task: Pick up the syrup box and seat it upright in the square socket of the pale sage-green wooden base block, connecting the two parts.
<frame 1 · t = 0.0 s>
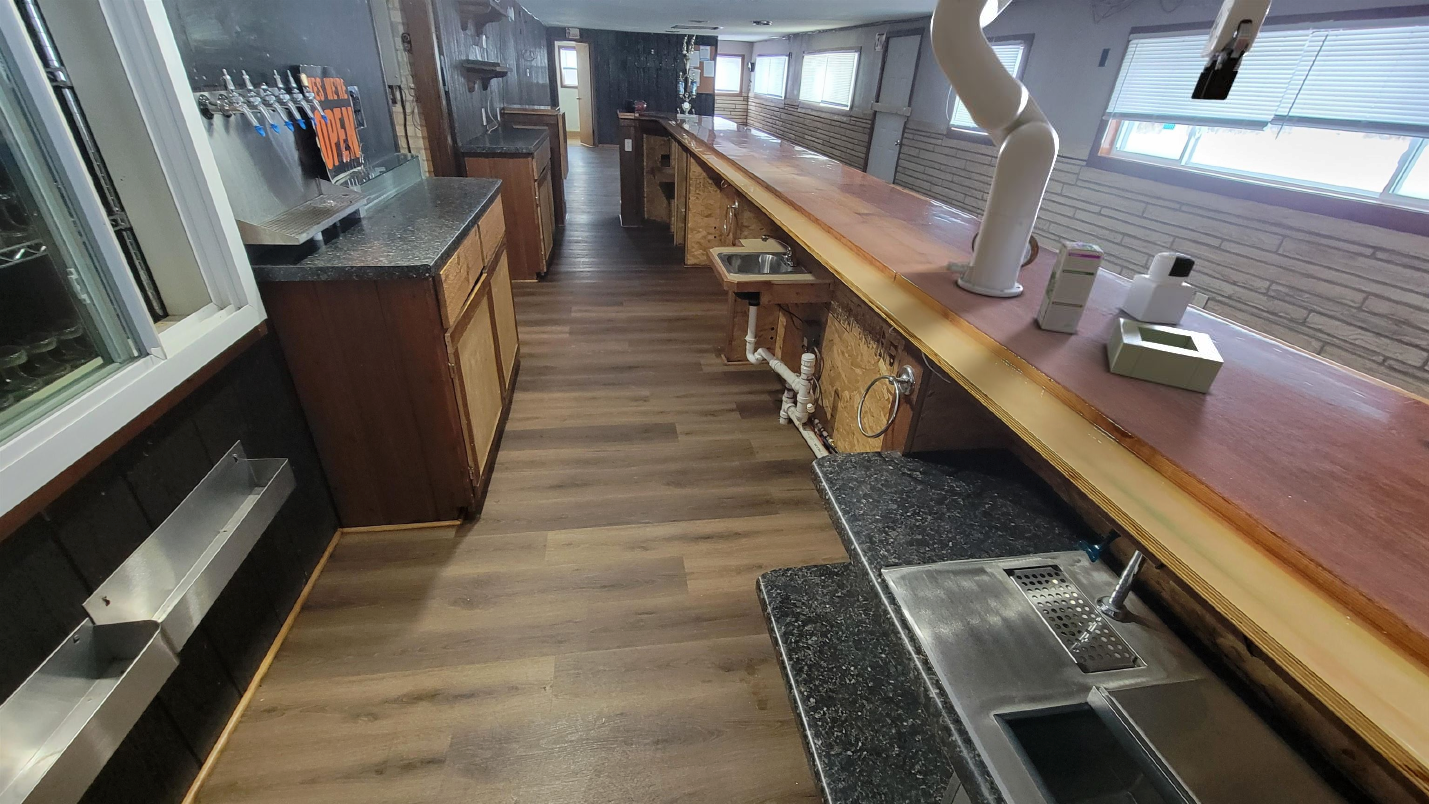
hand: (1207, 99, 92), 37 cm above the counter, tool pointing down, fingers open, 9 cm apart
medicine bottle: (1148, 317, 109), on the counter
syrup box: (1054, 327, 102), on the counter
tin: (998, 265, 137), on the counter
socket block: (1152, 367, 88), on the counter
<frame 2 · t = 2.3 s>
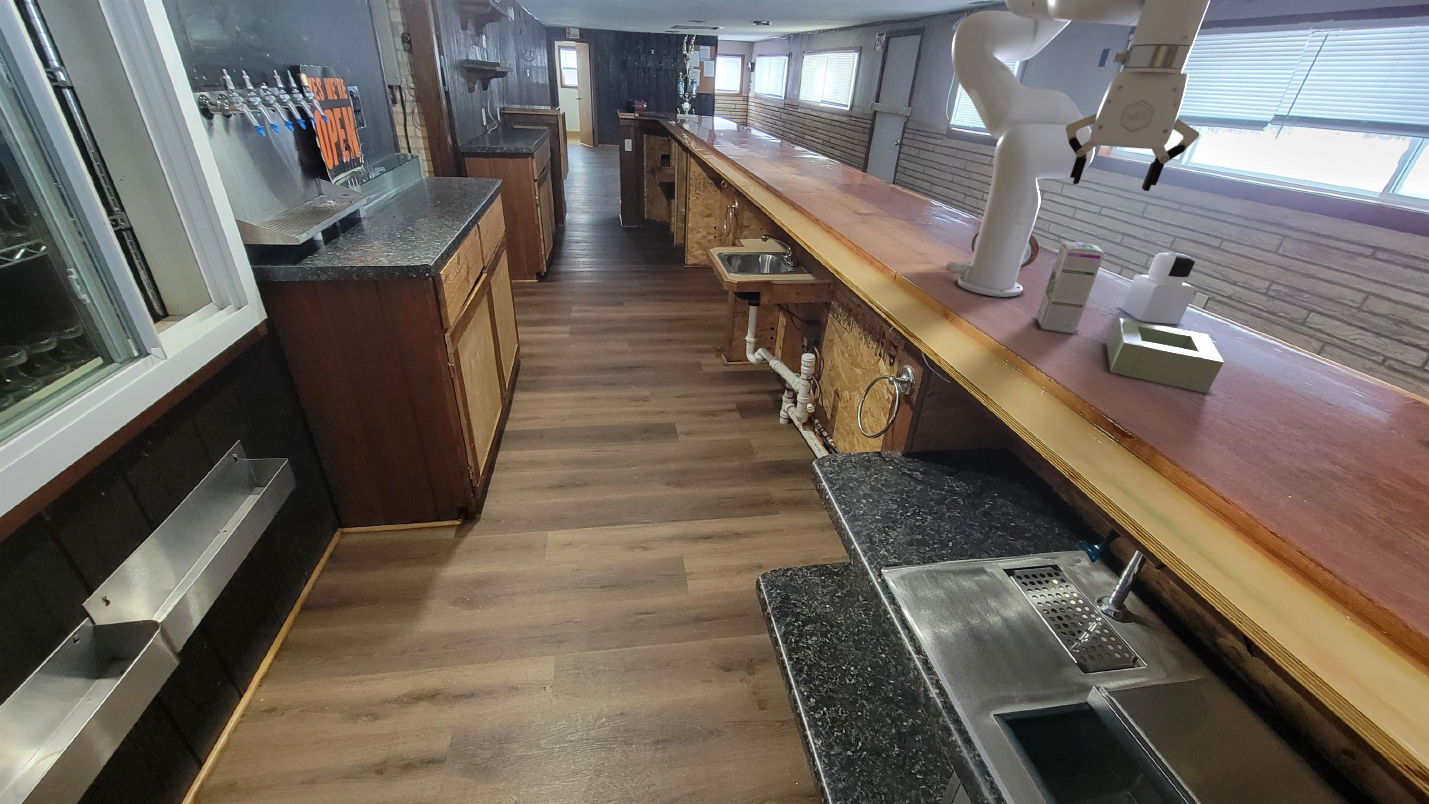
hand: (1109, 186, 90), 24 cm above the counter, tool pointing down, fingers open, 9 cm apart
nothing on the counter moved.
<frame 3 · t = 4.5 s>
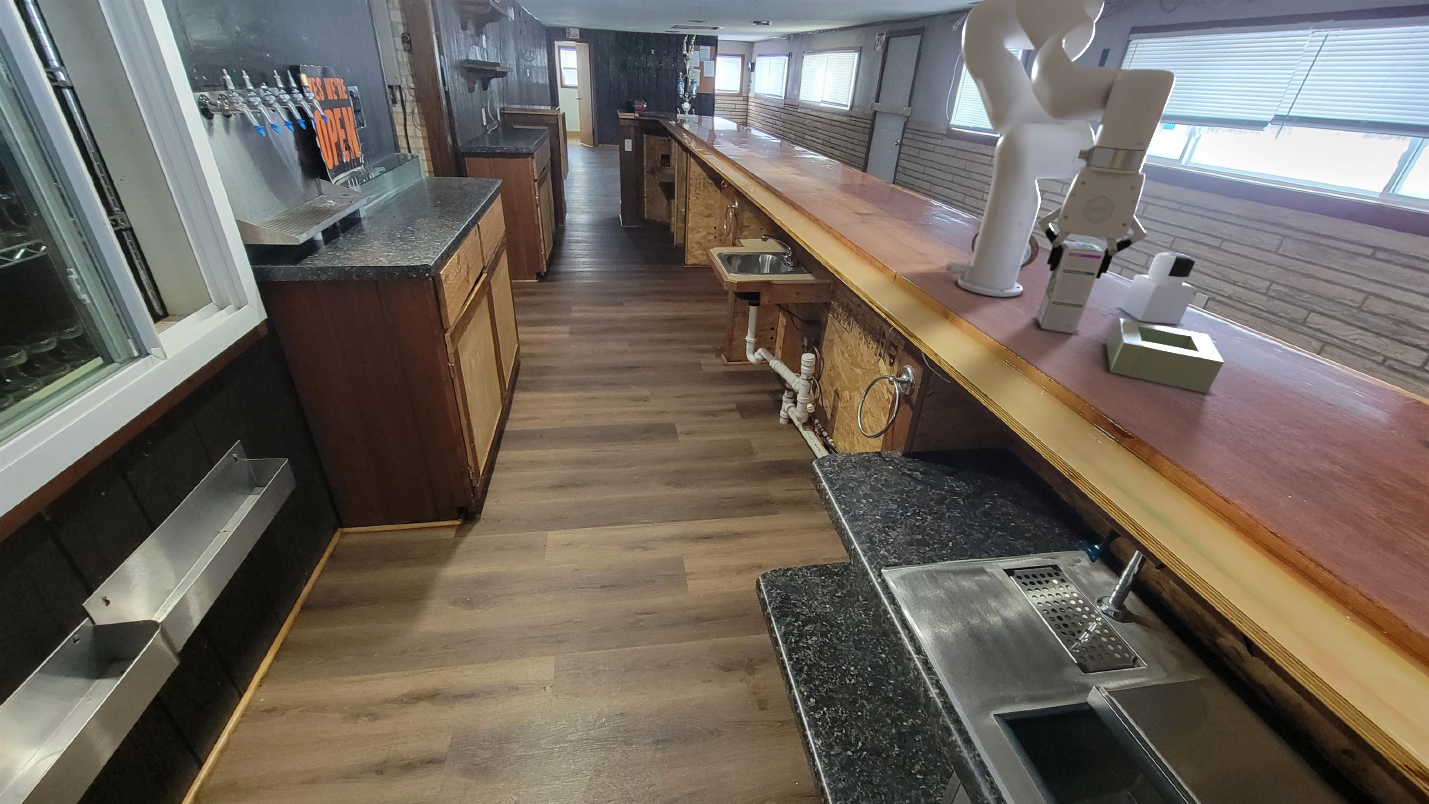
hand: (1074, 272, 97), 10 cm above the counter, tool pointing down, fingers closed on syrup box, 6 cm apart
syrup box: (1054, 327, 102), on the counter, touching gripper
everything else where it was.
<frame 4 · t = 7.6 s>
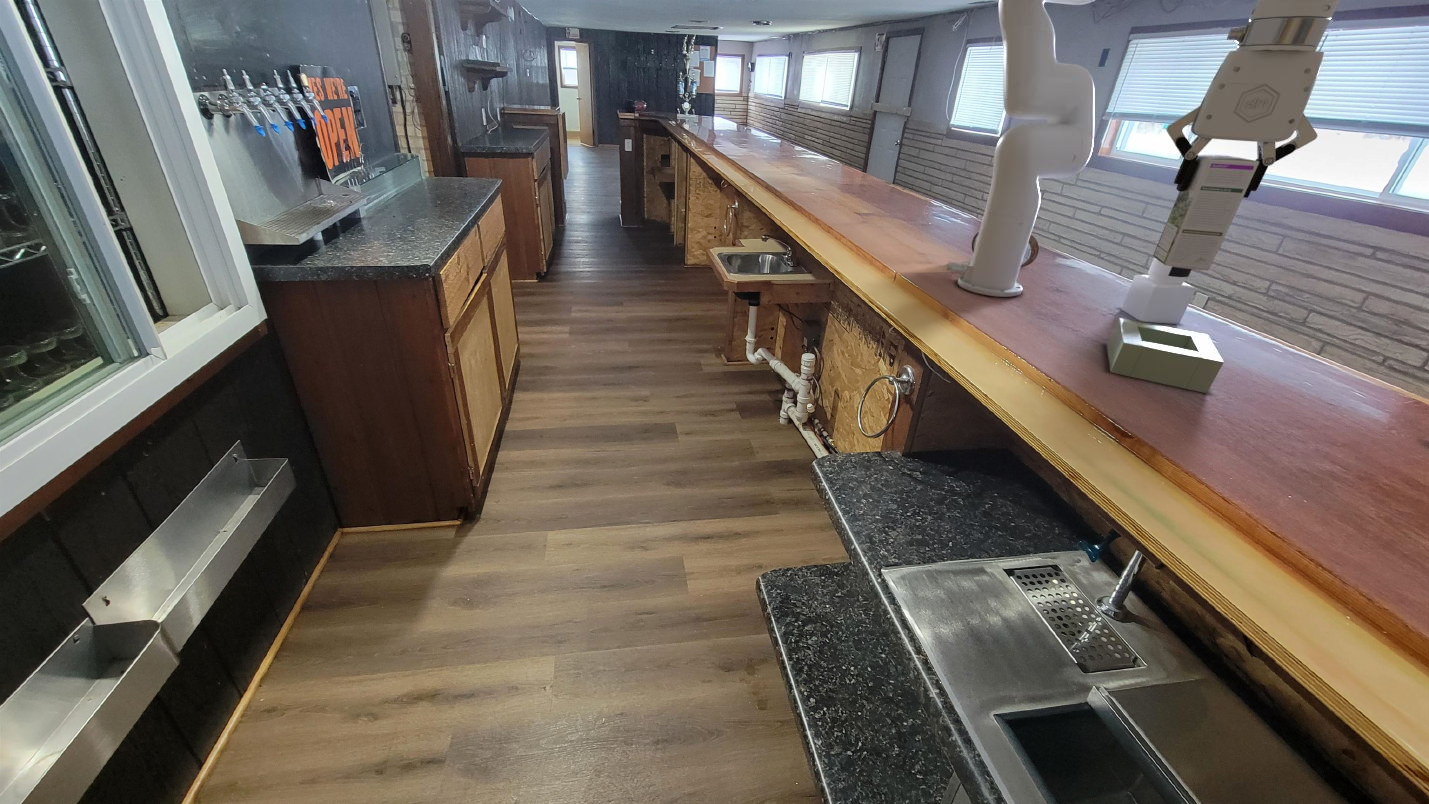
hand: (1211, 192, 77), 26 cm above the counter, tool pointing down, fingers closed on syrup box, 6 cm apart
syrup box: (1178, 265, 83), point 15 cm above the counter, touching gripper
everything else where it was.
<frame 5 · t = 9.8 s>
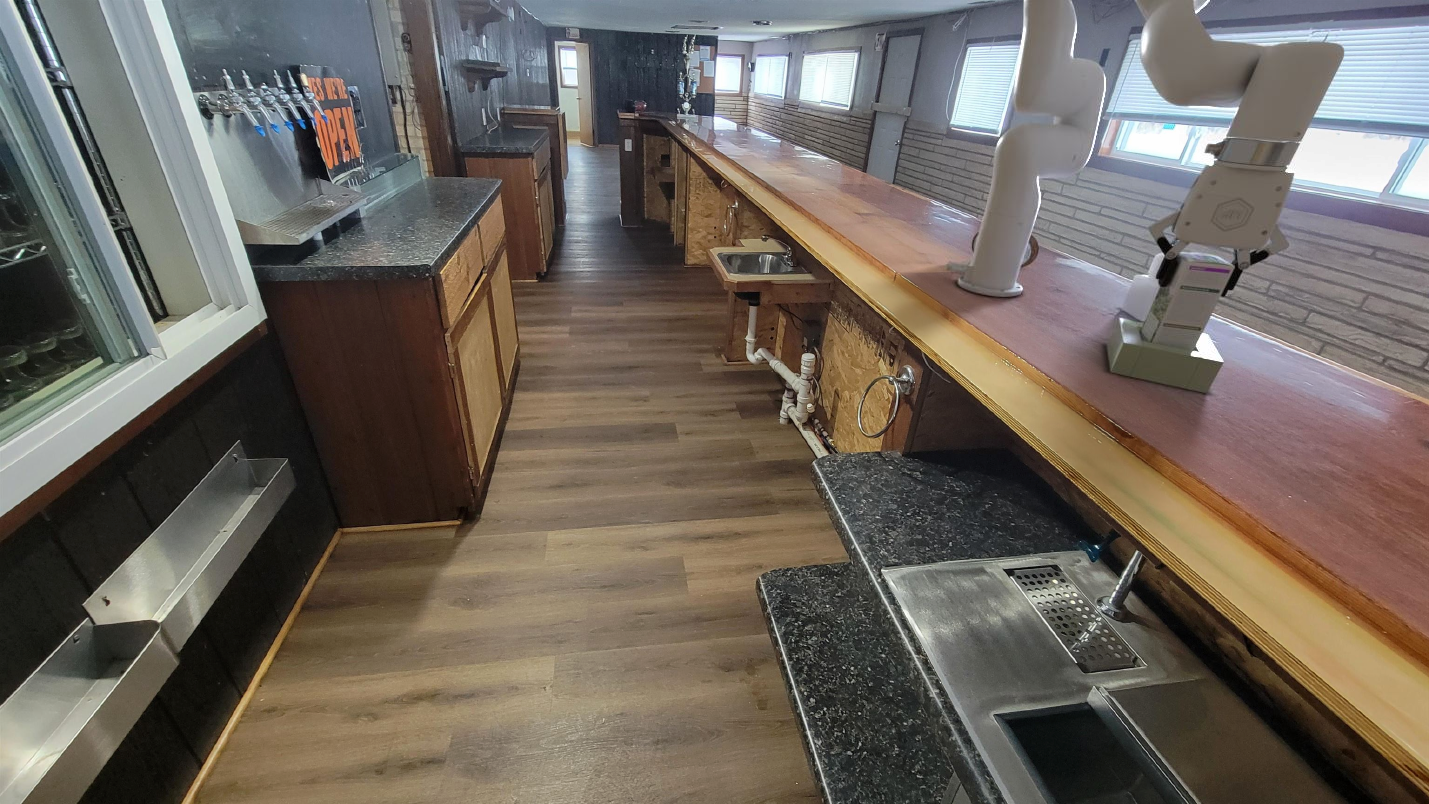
hand: (1190, 288, 82), 13 cm above the counter, tool pointing down, fingers closed on syrup box, 6 cm apart
syrup box: (1160, 352, 87), point 3 cm above the counter, touching gripper
everything else where it was.
when the fingers open (10 cm above the counter, at t = 11.2 s): syrup box stays where it is, resting in socket block.
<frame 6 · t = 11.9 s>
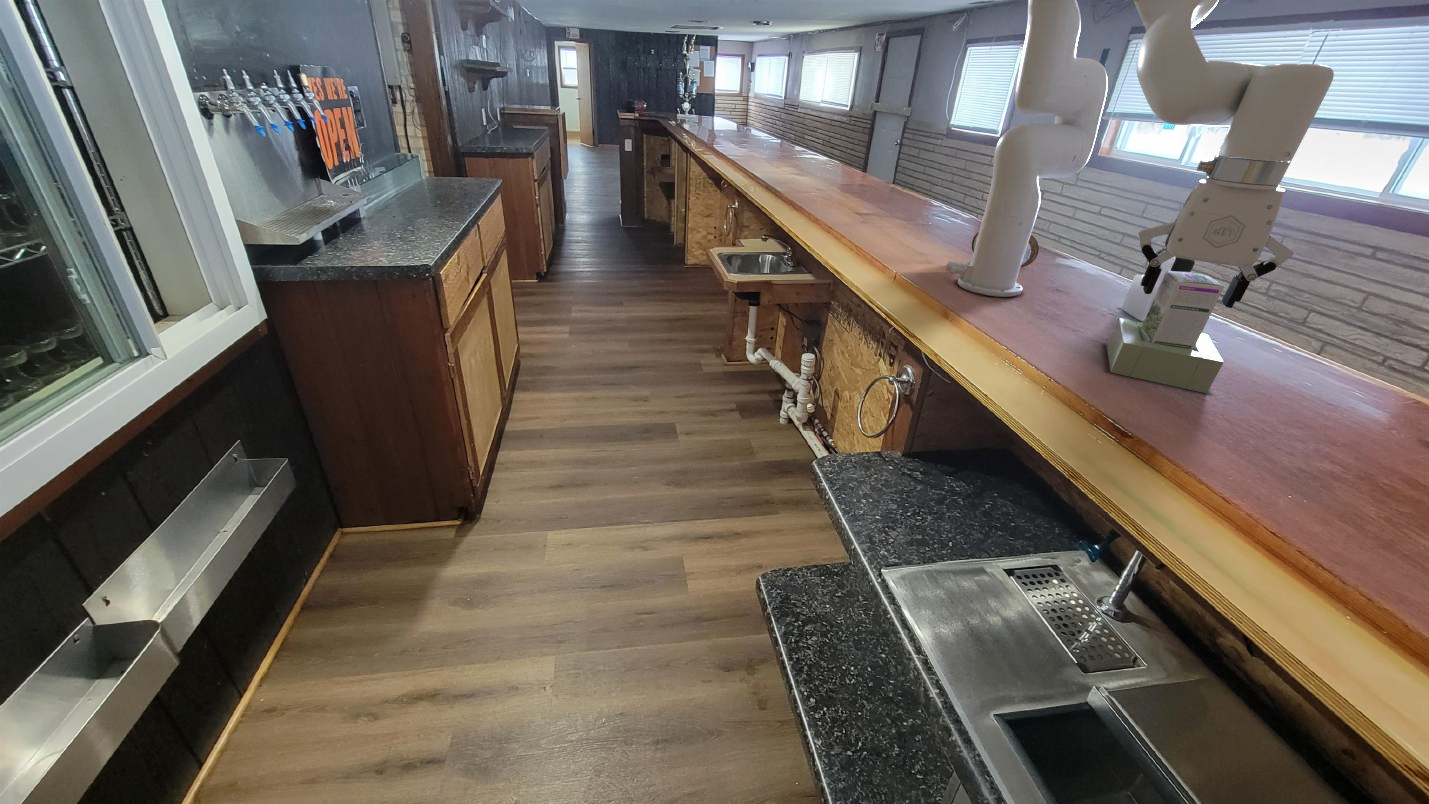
hand: (1185, 298, 82), 11 cm above the counter, tool pointing down, fingers open, 9 cm apart
syrup box: (1151, 368, 88), resting in socket block
everything else where it was.
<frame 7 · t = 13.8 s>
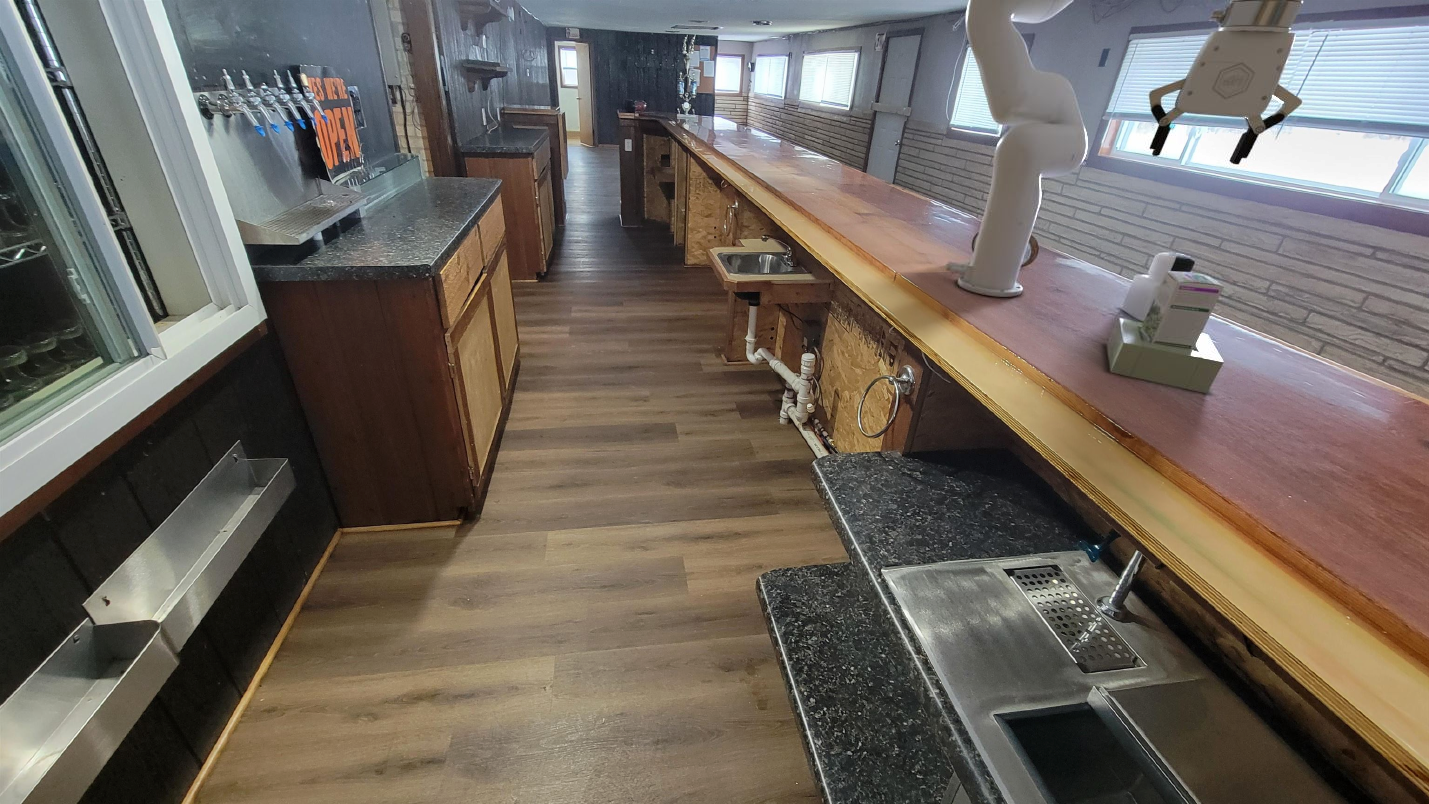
hand: (1193, 159, 83), 29 cm above the counter, tool pointing down, fingers open, 9 cm apart
nothing on the counter moved.
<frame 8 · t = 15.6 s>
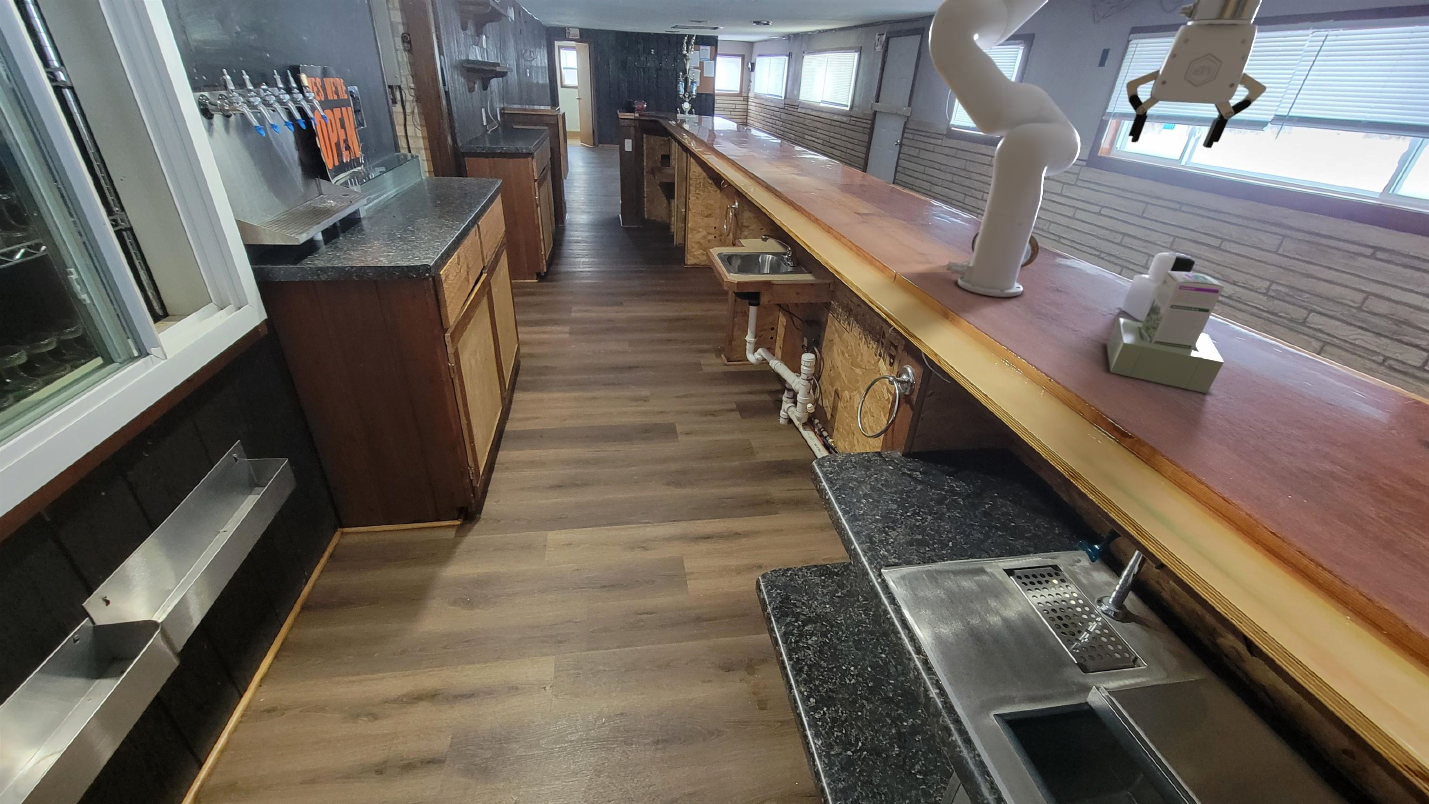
hand: (1169, 144, 90), 30 cm above the counter, tool pointing down, fingers open, 9 cm apart
nothing on the counter moved.
at the end: syrup box 0.0 cm off-centre in the socket block, point 0.0 cm above the socket block's base; syrup box tilted 0°; the gripper is holding nothing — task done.
